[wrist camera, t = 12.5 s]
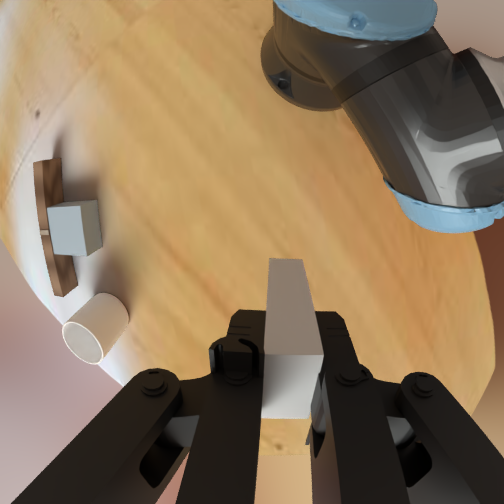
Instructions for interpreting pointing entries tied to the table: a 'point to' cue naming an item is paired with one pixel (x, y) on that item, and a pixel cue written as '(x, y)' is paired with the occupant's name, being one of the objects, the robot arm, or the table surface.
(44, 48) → the table surface
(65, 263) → the board
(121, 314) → the mug
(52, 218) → the block
